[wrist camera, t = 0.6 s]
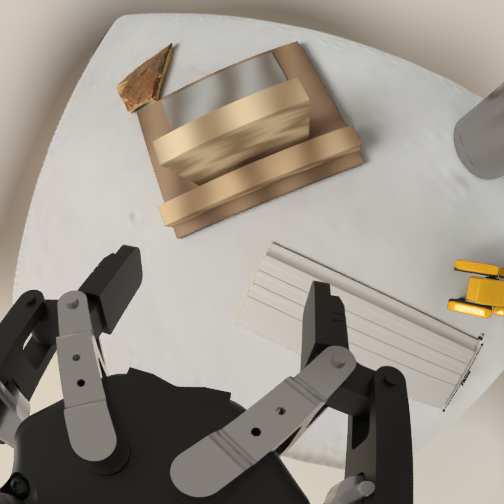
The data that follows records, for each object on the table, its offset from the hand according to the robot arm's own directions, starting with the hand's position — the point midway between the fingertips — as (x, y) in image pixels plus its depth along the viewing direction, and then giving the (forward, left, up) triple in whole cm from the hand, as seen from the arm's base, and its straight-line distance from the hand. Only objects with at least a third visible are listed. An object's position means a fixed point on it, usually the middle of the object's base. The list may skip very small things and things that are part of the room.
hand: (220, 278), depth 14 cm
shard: (+8, -31, -24) cm, 40 cm away
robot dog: (-26, +15, -23) cm, 38 cm away
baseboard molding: (-8, +13, -24) cm, 28 cm away
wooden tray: (-2, -16, -23) cm, 28 cm away
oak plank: (-2, -12, -22) cm, 25 cm away
